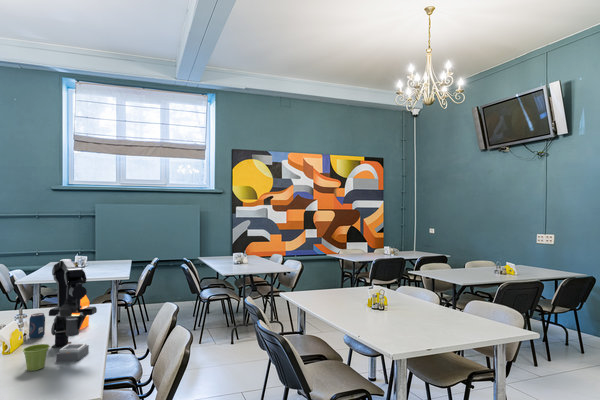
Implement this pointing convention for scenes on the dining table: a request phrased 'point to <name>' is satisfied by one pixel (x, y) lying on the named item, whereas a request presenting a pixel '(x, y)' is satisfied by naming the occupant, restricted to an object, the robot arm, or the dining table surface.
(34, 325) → the soda can
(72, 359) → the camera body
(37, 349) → the plant pot
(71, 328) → the lens
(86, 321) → the orange juice
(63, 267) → the robot arm
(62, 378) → the dining table surface
